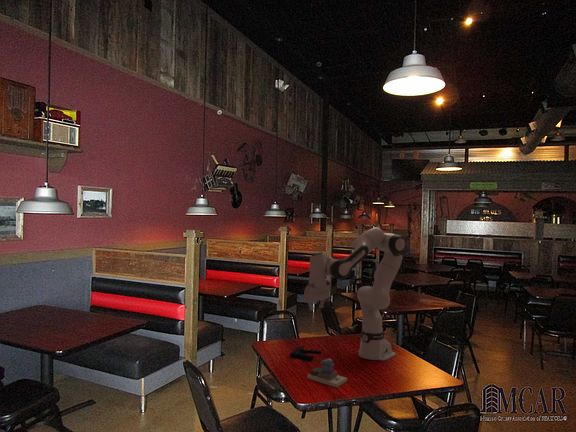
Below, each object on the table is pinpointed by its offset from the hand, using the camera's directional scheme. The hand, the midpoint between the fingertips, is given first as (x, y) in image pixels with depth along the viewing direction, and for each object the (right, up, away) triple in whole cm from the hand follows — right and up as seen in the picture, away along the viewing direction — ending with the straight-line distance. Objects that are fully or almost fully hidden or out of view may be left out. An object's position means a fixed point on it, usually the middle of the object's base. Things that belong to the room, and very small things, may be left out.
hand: (316, 308), depth 215 cm
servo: (+4, -27, -23) cm, 35 cm away
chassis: (+4, -29, -23) cm, 37 cm away
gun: (-4, -30, +16) cm, 34 cm away
